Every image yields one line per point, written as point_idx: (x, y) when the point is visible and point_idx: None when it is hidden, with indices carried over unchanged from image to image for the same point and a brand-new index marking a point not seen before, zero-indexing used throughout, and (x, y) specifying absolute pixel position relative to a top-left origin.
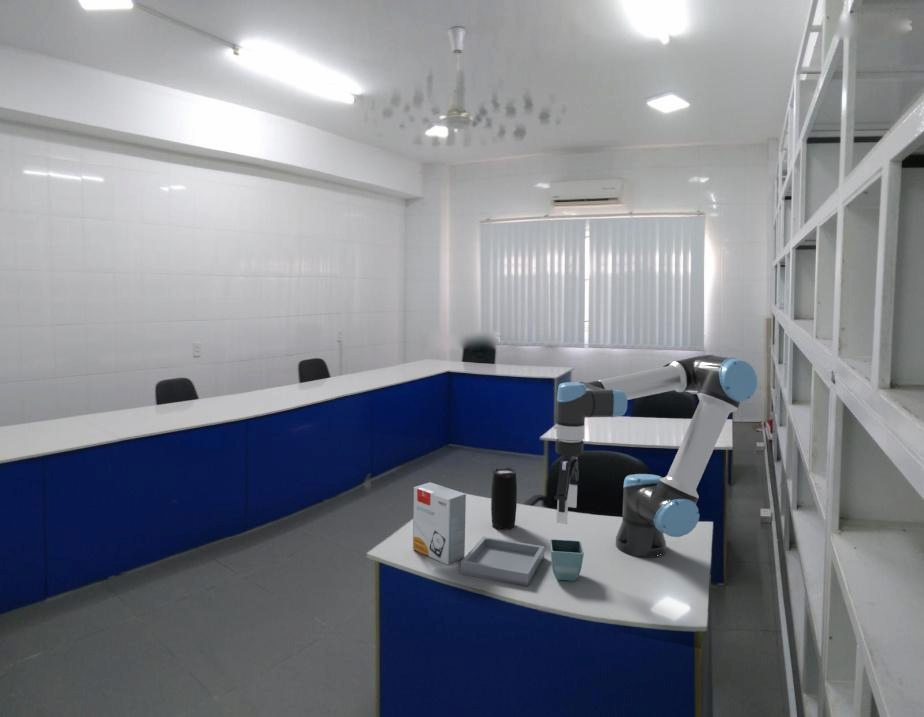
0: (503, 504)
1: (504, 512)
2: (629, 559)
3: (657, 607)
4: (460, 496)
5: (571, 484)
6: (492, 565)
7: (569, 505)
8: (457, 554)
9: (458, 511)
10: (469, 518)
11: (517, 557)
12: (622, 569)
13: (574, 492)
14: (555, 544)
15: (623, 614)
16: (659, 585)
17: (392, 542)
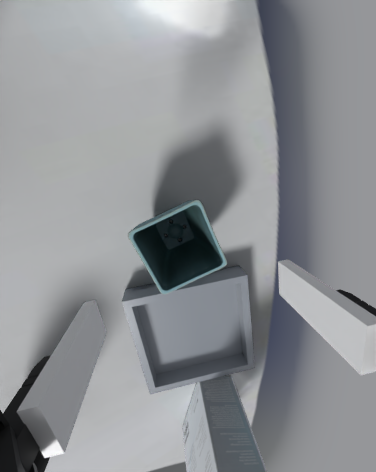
0: (41, 453)
1: None
2: (5, 139)
3: (200, 22)
4: None
5: (40, 439)
6: (245, 330)
7: (101, 327)
8: (216, 384)
9: None
10: None
11: (164, 320)
12: (72, 140)
13: (69, 366)
14: (160, 278)
15: (257, 88)
16: (95, 35)
17: None
